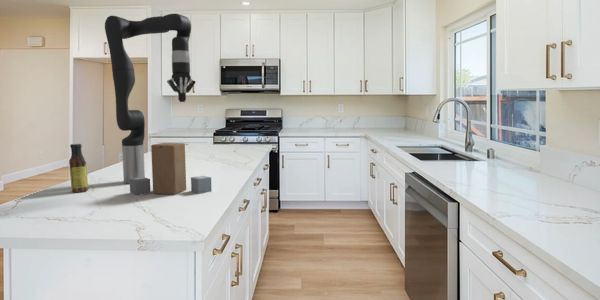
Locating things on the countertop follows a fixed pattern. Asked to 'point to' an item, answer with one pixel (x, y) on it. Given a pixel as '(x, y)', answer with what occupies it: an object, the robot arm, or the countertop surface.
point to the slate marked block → (201, 184)
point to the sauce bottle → (78, 169)
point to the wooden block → (168, 168)
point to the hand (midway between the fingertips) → (182, 101)
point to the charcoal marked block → (140, 186)
